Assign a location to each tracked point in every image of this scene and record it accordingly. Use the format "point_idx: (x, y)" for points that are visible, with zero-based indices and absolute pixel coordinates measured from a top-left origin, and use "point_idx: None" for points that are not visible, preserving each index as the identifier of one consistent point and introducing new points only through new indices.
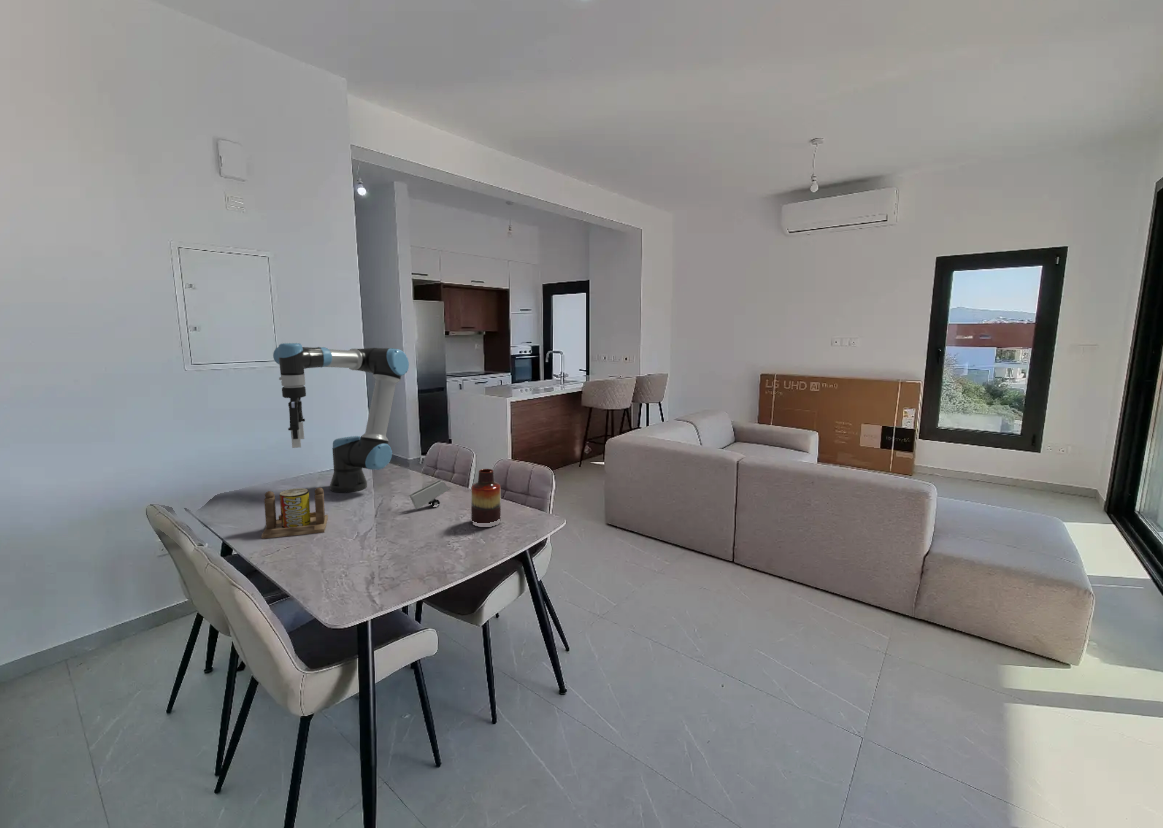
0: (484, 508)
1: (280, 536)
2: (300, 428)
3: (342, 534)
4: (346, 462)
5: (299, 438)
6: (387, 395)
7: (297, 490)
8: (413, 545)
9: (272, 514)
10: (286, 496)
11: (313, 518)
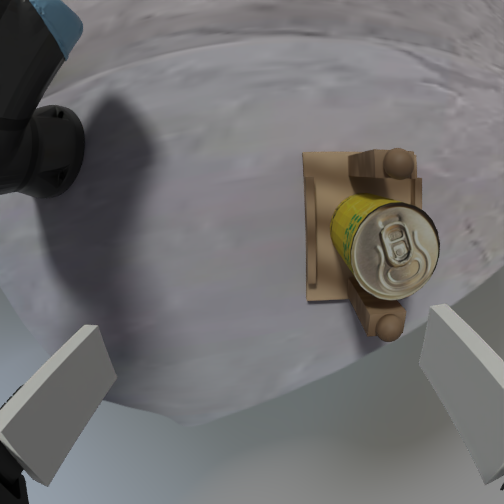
0: None
1: None
2: (51, 408)
3: (432, 114)
4: (18, 140)
5: (489, 353)
6: None
7: (380, 245)
8: (484, 14)
9: None
10: (432, 270)
11: (326, 189)
